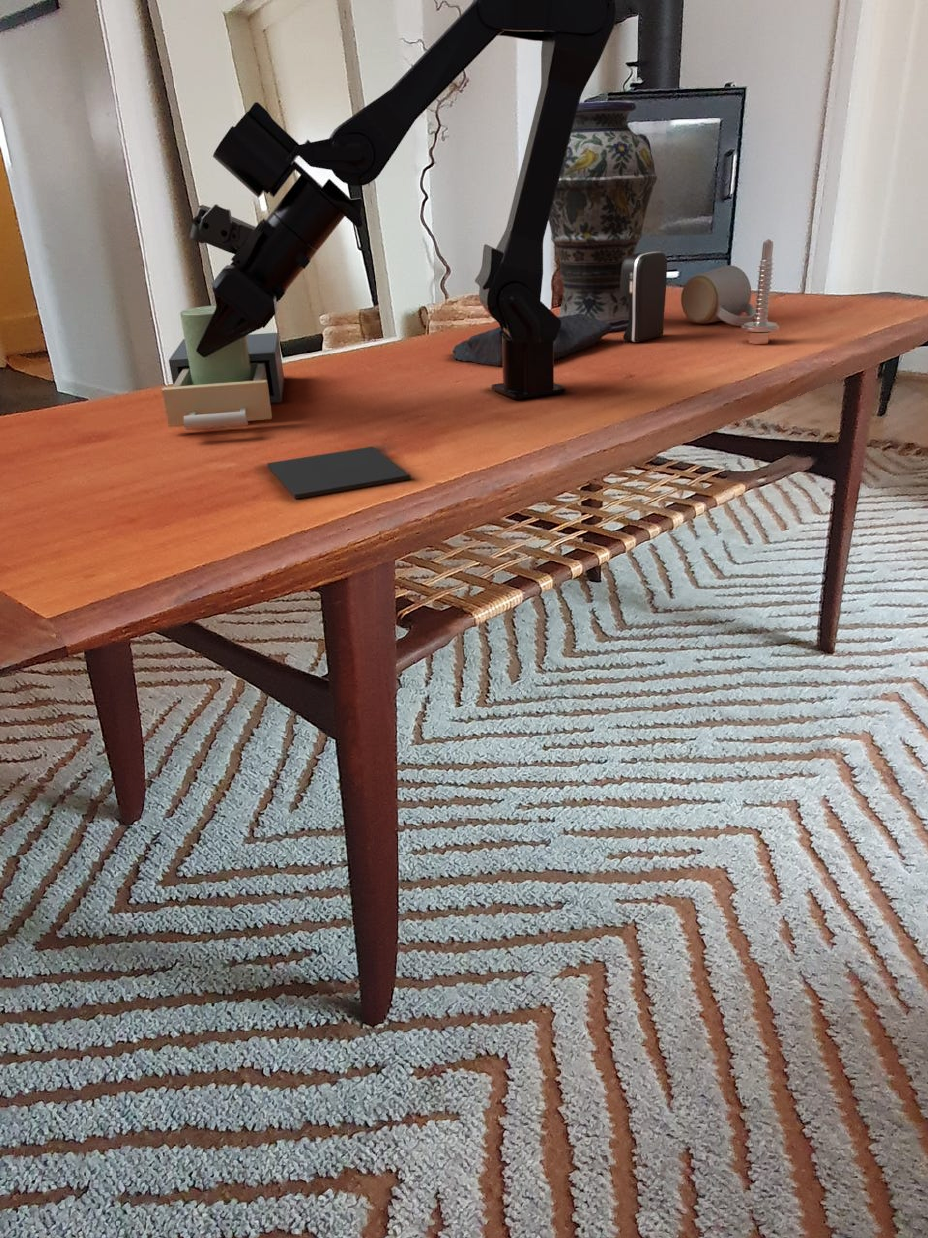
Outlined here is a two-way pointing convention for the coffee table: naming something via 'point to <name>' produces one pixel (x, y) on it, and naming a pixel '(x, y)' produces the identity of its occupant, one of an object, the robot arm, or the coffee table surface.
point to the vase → (600, 209)
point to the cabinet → (259, 350)
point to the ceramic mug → (718, 297)
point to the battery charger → (644, 294)
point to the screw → (762, 300)
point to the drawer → (217, 401)
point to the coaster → (336, 472)
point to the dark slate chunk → (569, 339)
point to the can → (220, 364)
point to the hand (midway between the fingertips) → (204, 348)
